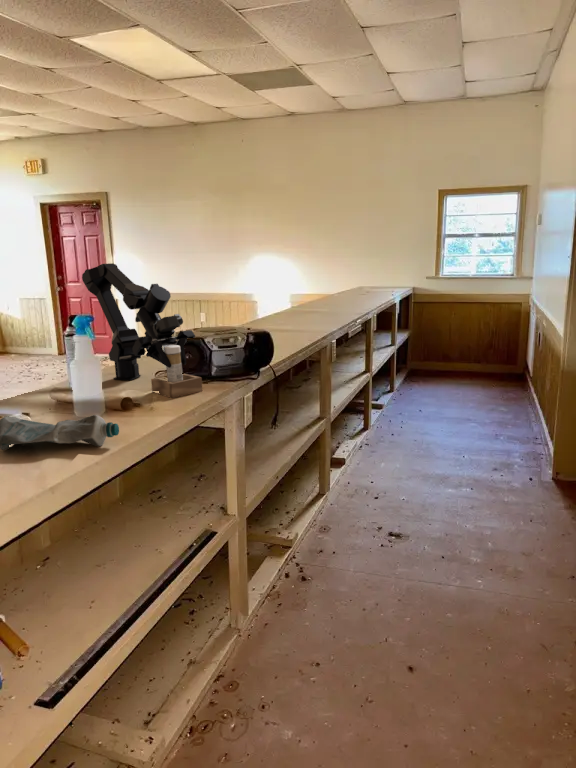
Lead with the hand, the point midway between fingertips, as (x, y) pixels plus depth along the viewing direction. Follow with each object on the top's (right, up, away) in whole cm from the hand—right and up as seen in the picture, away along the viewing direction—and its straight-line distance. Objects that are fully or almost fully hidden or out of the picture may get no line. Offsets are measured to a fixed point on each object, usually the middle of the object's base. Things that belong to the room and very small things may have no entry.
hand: (178, 365), depth 159 cm
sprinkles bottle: (-1, -8, +3) cm, 8 cm away
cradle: (-1, -8, +3) cm, 8 cm away
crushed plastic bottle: (-17, -19, -41) cm, 48 cm away
